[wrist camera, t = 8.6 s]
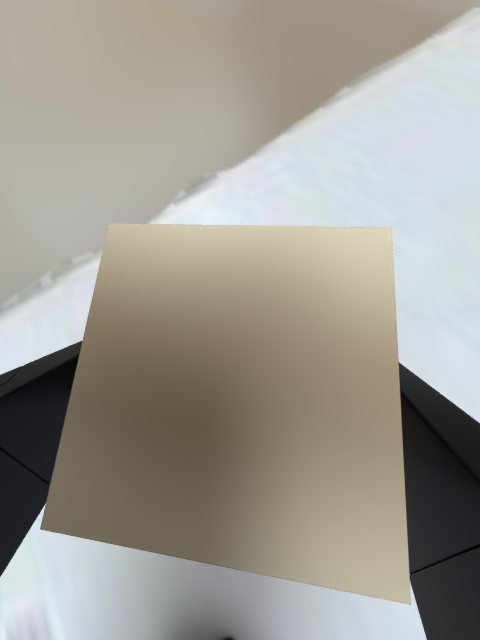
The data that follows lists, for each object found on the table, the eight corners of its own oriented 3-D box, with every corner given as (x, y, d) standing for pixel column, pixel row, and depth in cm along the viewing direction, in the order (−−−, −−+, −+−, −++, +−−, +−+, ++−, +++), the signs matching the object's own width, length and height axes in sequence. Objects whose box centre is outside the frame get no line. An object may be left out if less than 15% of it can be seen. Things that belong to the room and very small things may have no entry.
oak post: (287, 404, 15) (410, 604, 3) (218, 396, 16) (40, 529, 3) (290, 334, 16) (391, 227, 4) (225, 329, 17) (109, 223, 4)
